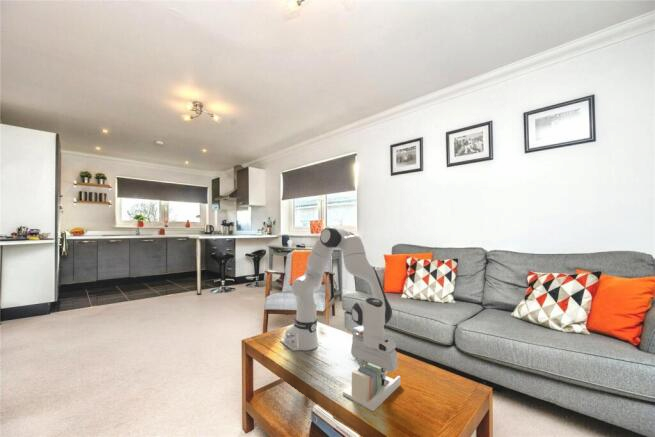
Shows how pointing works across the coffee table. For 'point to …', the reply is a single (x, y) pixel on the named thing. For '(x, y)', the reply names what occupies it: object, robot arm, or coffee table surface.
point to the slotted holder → (370, 388)
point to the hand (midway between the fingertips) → (372, 373)
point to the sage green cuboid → (378, 371)
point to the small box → (358, 330)
